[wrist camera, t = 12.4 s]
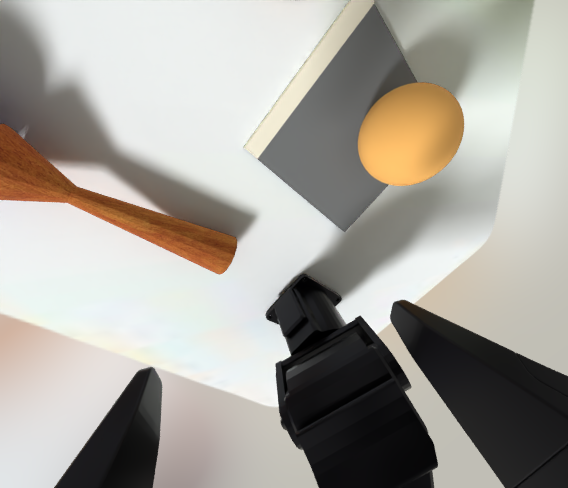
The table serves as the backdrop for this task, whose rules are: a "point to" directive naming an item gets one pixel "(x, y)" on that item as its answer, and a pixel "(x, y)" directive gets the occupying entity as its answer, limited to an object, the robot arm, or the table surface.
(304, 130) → the mat
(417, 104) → the rubber ball
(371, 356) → the robot arm
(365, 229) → the table surface
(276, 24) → the table surface
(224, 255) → the kendama
